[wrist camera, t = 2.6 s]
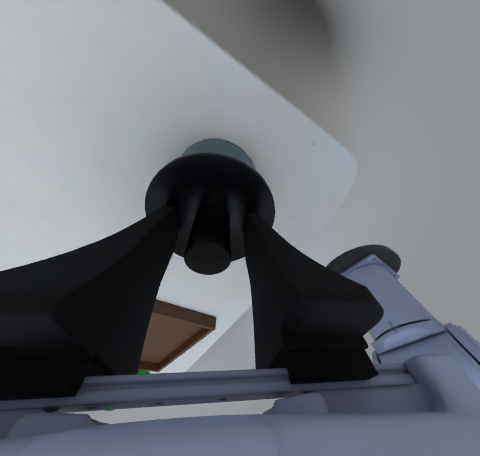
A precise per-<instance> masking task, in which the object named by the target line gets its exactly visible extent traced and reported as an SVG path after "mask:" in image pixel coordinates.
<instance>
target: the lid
mask: <svg viewBox="0 0 480 456" xmlns="http://www.w3.org/2000/svg"><path fill="white" fill-rule="evenodd" d="M163 206H175V207H176V217H177V227H178V238H177V242H176V246H175V249H174V253H176V254H177V255H179V256H181V257H184V261H185V263H186V265H187V266H188V267H189V268H190V269H191V270H193V271H194V272H197V273H200V274H205V275H212V274H217V273H220V272H222V271H224V270H225V269H226V268H227V267H228V266H229V265H230V262H231V261H235V260H238V259H240V258H243V257H245V253H244V233H245V227H246V221H247V216H248V212H252V213H258V214H259V215H260V216H261V217H262V218H263V219H264V220H265V221H266V222H267V223H268V224H269V225H270V226H271V227H272V226H273V223H274V218H275V205H274V200H273V196H272V194H271V191H270V189H269V187H268V185H267V183H266V182H265V180H264V179H263V177H262V176H261V175H260V174H259V173H258V172H257V171H256V170H255V169H254V168H253V167H252V166H250V165H249V164H247V163H246V162H245V161H243V160H241V159H239V158H237V157H234V156H231V155H228V154H225V153H220V152H213V151H201V152H193V153H189V154H185V155H183V156H180V157H178V158H176V159H174V160H172V161H171V162H169V163H168V164H167V165H165V166H164V167H163V168H162V169H161V170H160V171H159V172H158V173H157V174H156V175H155V177H154V178H153V180H152V181H151V183H150V185H149V187H148V190H147V193H146V198H145V212H146V216H148V215H150V214H151V213H153V212H154V211H156V210H158V209H159V208H161V207H163Z"/></svg>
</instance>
